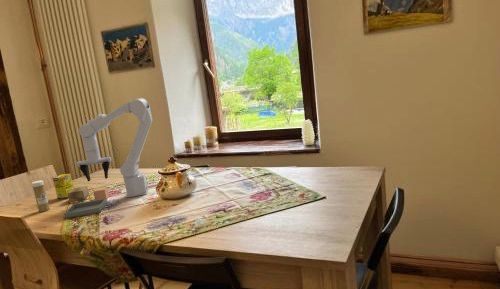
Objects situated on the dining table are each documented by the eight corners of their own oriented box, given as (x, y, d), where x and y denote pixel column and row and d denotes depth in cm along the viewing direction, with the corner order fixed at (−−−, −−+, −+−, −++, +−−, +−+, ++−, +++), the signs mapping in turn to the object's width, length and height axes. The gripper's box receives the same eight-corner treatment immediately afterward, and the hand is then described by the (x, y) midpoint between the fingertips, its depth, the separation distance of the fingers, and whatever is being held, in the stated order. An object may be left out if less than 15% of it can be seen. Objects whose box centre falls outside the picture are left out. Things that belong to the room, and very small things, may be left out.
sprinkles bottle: (44, 212, 169) (36, 182, 167) (36, 212, 171) (28, 183, 168) (52, 208, 174) (45, 179, 171) (44, 208, 175) (37, 180, 173)
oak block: (89, 196, 186) (87, 186, 185) (85, 200, 179) (82, 190, 178) (74, 198, 185) (72, 188, 184) (69, 203, 178) (67, 193, 177)
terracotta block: (109, 196, 179) (107, 186, 178) (106, 200, 174) (104, 189, 173) (98, 198, 179) (96, 188, 178) (95, 202, 174) (93, 191, 173)
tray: (107, 203, 169) (106, 198, 169) (100, 212, 157) (99, 207, 157) (74, 208, 168) (73, 204, 167) (64, 218, 156) (63, 213, 156)
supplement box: (68, 198, 186) (62, 177, 184) (57, 199, 187) (52, 178, 185) (75, 194, 191) (70, 173, 189) (65, 195, 193) (60, 174, 191)
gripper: (110, 146, 177) (116, 174, 179) (77, 150, 175) (83, 179, 178) (107, 149, 170) (112, 178, 173) (73, 153, 168) (79, 183, 171)
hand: (97, 179), depth 175 cm, fingers open, 7 cm apart
